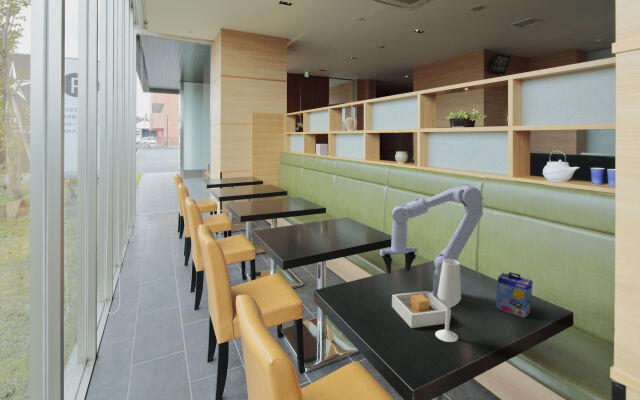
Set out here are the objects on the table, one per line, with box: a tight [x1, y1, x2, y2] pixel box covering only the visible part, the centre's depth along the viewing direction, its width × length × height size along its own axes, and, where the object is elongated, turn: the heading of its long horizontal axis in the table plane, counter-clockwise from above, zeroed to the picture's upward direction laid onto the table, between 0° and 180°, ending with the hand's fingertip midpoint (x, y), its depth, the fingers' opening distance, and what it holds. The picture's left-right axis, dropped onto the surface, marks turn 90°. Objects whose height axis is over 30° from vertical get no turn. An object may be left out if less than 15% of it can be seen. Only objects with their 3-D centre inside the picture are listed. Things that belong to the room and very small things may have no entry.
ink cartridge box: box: [495, 271, 534, 318], centre depth 121 cm, size 10×6×14 cm, turn 45°
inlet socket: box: [401, 300, 439, 314], centre depth 120 cm, size 10×10×3 cm
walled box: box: [391, 290, 452, 329], centre depth 120 cm, size 14×15×4 cm
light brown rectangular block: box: [411, 294, 429, 312], centre depth 120 cm, size 4×5×6 cm
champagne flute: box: [434, 259, 462, 343], centre depth 105 cm, size 7×7×24 cm
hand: (397, 271), depth 134 cm, fingers open, 7 cm apart
